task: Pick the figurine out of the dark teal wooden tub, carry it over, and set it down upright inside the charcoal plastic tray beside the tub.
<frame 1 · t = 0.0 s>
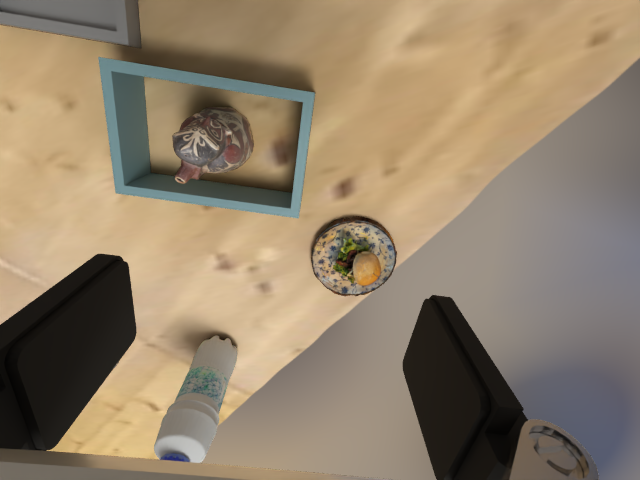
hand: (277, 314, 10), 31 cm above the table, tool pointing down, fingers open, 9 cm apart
tub: (224, 138, 38), on the table
bottle: (220, 346, 52), on the table
burger: (352, 254, 45), on the table
figurine: (225, 138, 38), on the table
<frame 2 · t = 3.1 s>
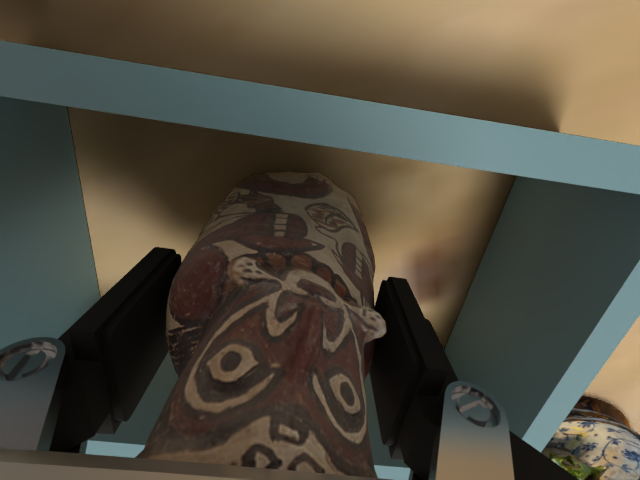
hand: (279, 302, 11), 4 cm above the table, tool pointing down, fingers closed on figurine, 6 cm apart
tub: (289, 245, 14), on the table
burger: (532, 449, 22), on the table
figurine: (291, 244, 15), on the table, touching gripper
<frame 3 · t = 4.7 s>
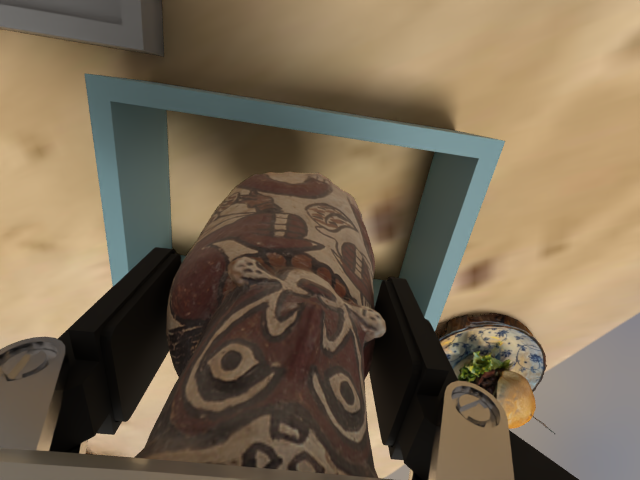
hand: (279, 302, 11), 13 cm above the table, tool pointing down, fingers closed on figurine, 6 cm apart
tub: (295, 202, 23), on the table
burger: (469, 361, 30), on the table
figurine: (291, 244, 15), point 9 cm above the table, touching gripper
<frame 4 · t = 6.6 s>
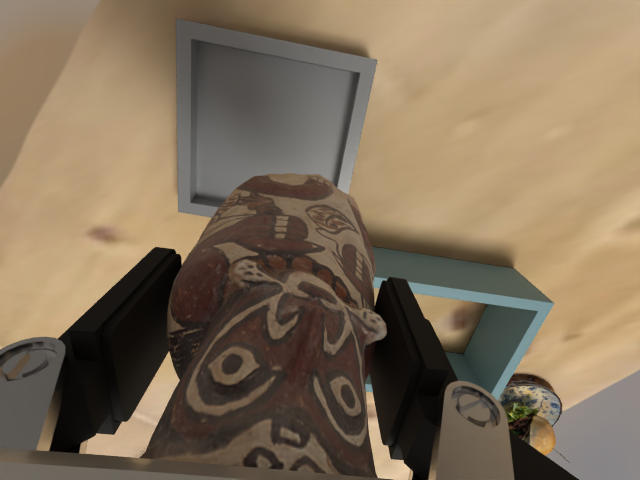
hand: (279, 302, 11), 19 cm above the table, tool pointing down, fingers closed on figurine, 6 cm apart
tray: (272, 138, 27), on the table
tub: (403, 306, 34), on the table
burger: (506, 404, 42), on the table
figurine: (291, 245, 15), point 15 cm above the table, touching gripper
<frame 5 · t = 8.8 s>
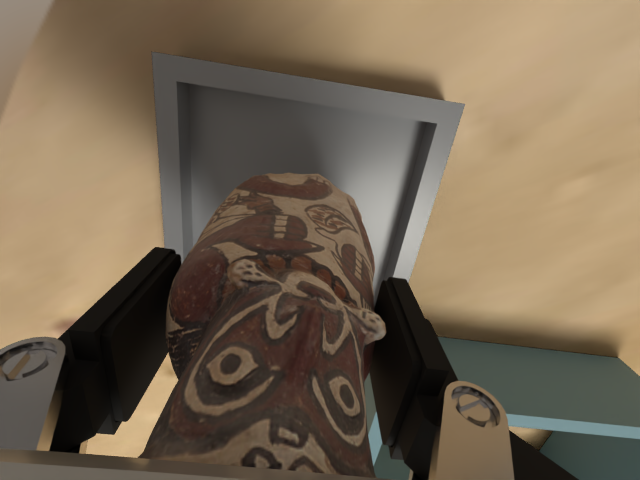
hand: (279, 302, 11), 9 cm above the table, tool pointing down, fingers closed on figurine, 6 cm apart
tray: (298, 208, 19), on the table
tub: (466, 402, 27), on the table
figurine: (291, 245, 15), point 5 cm above the table, touching gripper
when the fingers open (7 cm above the table, at t = 10.3 s): figurine drops 2 cm, resting on tray.
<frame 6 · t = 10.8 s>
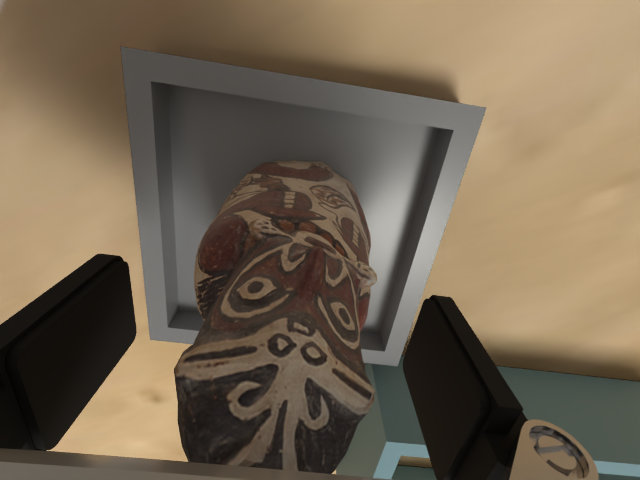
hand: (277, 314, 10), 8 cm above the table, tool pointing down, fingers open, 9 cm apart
tray: (294, 222, 17), on the table
tub: (477, 428, 25), on the table
figurine: (296, 227, 16), point 1 cm above the table, touching tray
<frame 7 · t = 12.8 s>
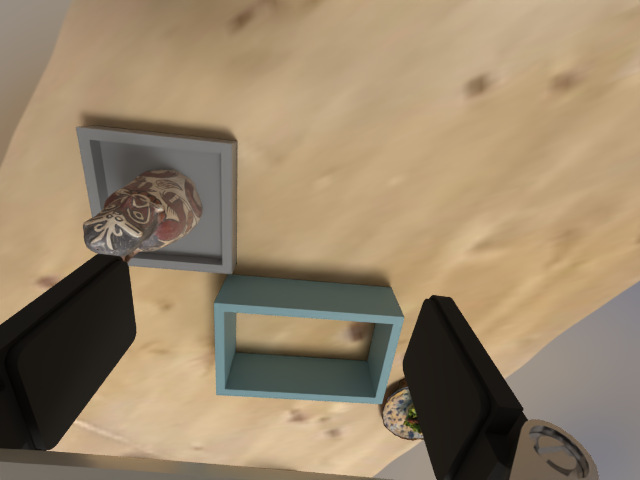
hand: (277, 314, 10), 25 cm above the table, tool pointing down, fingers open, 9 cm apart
tray: (171, 201, 34), on the table
tub: (306, 324, 41), on the table
burger: (417, 402, 48), on the table
figurine: (169, 202, 33), point 1 cm above the table, touching tray
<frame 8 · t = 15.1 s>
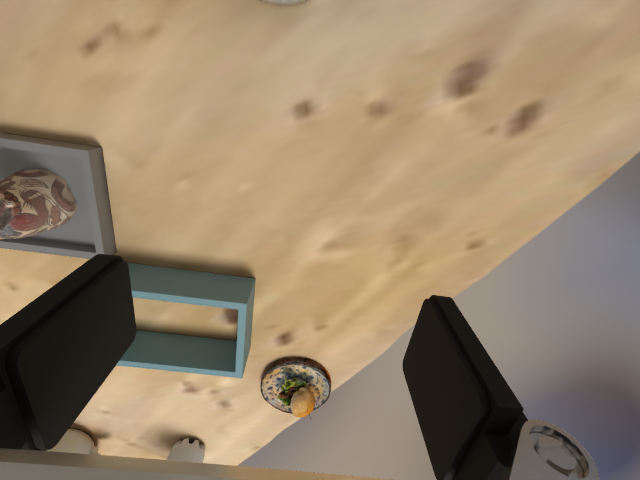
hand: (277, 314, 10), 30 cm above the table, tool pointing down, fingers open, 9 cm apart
tray: (52, 195, 40), on the table
teacup: (84, 438, 60), on the table
tub: (185, 307, 47), on the table
bottle: (190, 444, 61), on the table
burger: (296, 380, 54), on the table
figurine: (48, 196, 39), point 1 cm above the table, touching tray
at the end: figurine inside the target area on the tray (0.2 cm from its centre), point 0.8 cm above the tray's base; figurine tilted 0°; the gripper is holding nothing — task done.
